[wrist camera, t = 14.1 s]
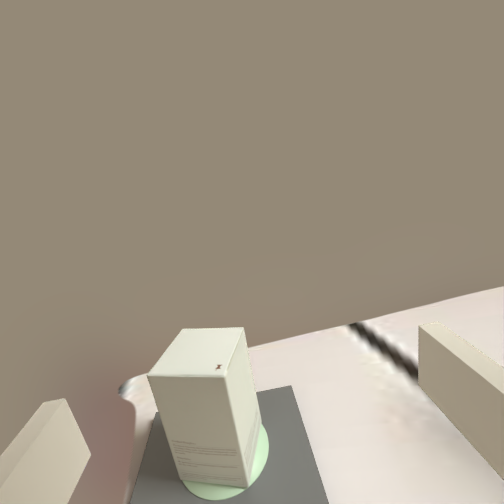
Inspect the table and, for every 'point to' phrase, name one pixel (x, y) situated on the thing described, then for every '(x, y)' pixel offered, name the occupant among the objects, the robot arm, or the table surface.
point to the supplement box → (208, 405)
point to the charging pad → (264, 467)
